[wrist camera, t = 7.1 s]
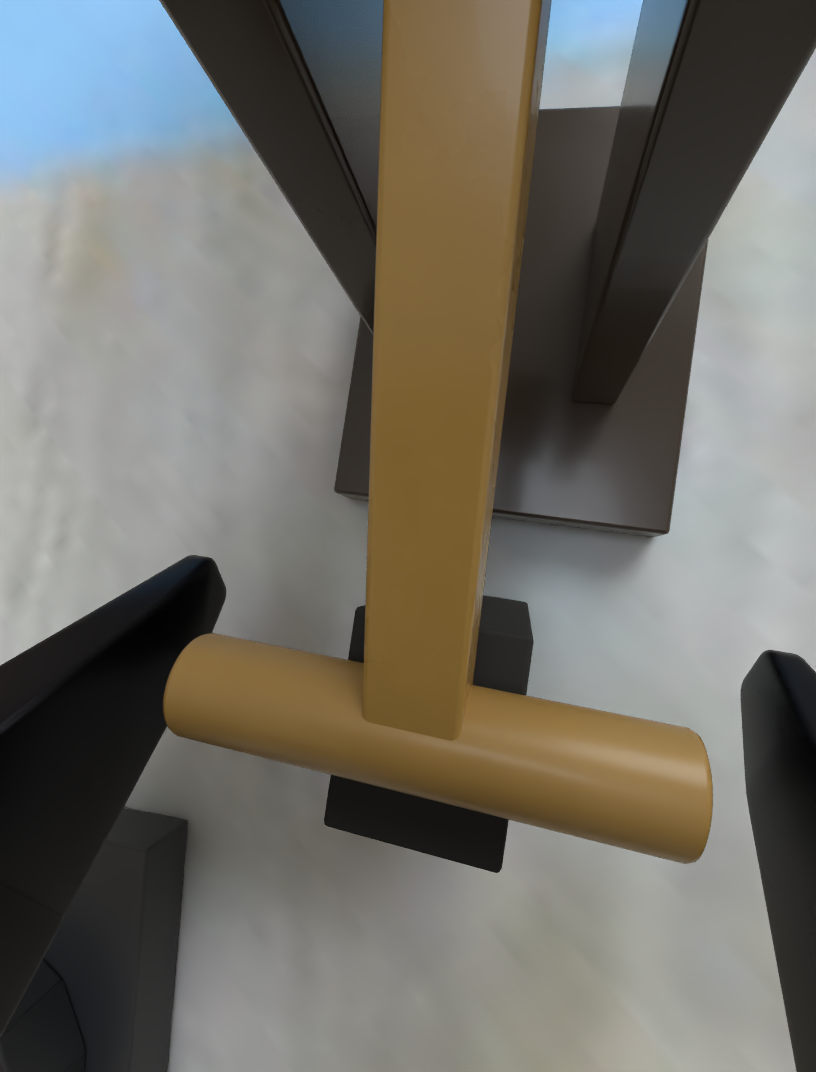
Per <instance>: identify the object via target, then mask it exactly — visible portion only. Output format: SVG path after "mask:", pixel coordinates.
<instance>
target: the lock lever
mask: <svg viewBox="0 0 816 1072" xmlns="http://www.w3.org/2000/svg"><path fill="white" fill-rule="evenodd" d="M551 1H552V0H383V31H382V64H381V98H380V132H379V166H378V200H377V234H376V268H375V302H374V336H373V370H372V404H371V438H370V472H369V506H368V539H367V573H366V607H365V641H364V663H360V662H355V661H350V660H345V659H340V658H335V657H330V656H325V655H320V654H315V653H310V652H305V651H300V650H295V649H290V648H285V647H280V646H275V645H270V644H265V643H260V642H255V641H250V640H245V639H240V638H235V637H230V636H225V635H220V634H215V633H209V634H205V635H201V636H199V637H197V638H195V639H194V640H192V641H191V642H190V643H189V644H188V645H187V646H186V647H185V648H184V650H183V651H182V652H181V654H180V655H179V657H178V658H177V660H176V662H175V663H174V665H173V667H172V670H171V672H170V674H169V677H168V680H167V683H166V687H165V692H164V699H163V714H164V719H165V722H166V724H167V726H168V728H169V729H170V730H171V731H172V732H173V733H174V734H176V735H177V736H180V737H184V738H188V739H192V740H196V741H200V742H204V743H208V744H212V745H216V746H220V747H224V748H227V749H231V750H235V751H239V752H243V753H247V754H251V755H255V756H259V757H263V758H267V759H271V760H275V761H279V762H283V763H287V764H291V765H295V766H299V767H303V768H307V769H311V770H315V771H319V772H323V773H327V774H331V775H334V776H338V777H342V778H346V779H350V780H354V781H358V782H362V783H366V784H370V785H374V786H378V787H382V788H386V789H390V790H394V791H398V792H402V793H406V794H410V795H414V796H418V797H422V798H426V799H430V800H434V801H438V802H441V803H445V804H449V805H453V806H457V807H461V808H465V809H469V810H473V811H477V812H481V813H485V814H489V815H493V816H497V817H501V818H505V819H509V820H513V821H517V822H521V823H525V824H529V825H533V826H537V827H541V828H545V829H548V830H552V831H556V832H560V833H564V834H568V835H572V836H576V837H580V838H584V839H588V840H592V841H596V842H600V843H604V844H608V845H612V846H616V847H620V848H624V849H628V850H632V851H636V852H640V853H644V854H648V855H652V856H655V857H659V858H663V859H667V860H671V861H675V862H679V863H683V864H687V863H693V862H695V861H697V860H698V859H699V858H700V856H701V855H702V853H703V851H704V848H705V846H706V843H707V839H708V835H709V831H710V826H711V819H712V807H713V787H712V776H711V769H710V764H709V759H708V755H707V752H706V749H705V746H704V743H703V741H702V739H701V738H700V736H699V735H698V734H697V733H695V732H694V731H692V730H691V729H689V728H685V727H680V726H675V725H670V724H665V723H660V722H655V721H650V720H645V719H640V718H635V717H630V716H625V715H620V714H615V713H610V712H605V711H600V710H595V709H590V708H585V707H580V706H575V705H570V704H565V703H560V702H555V701H550V700H545V699H540V698H535V697H530V696H525V695H520V694H515V693H510V692H505V691H500V690H495V689H490V688H485V687H480V686H475V685H473V677H474V668H475V659H476V651H477V642H478V633H479V625H480V616H481V607H482V599H483V590H484V581H485V573H486V564H487V555H488V547H489V538H490V529H491V521H492V512H493V503H494V495H495V486H496V477H497V469H498V460H499V451H500V443H501V434H502V425H503V417H504V408H505V399H506V391H507V382H508V373H509V365H510V356H511V347H512V339H513V330H514V322H515V313H516V304H517V296H518V287H519V278H520V270H521V261H522V252H523V244H524V235H525V226H526V218H527V209H528V200H529V192H530V183H531V174H532V166H533V157H534V148H535V140H536V131H537V122H538V114H539V105H540V96H541V88H542V79H543V70H544V62H545V53H546V44H547V36H548V27H549V18H550V10H551Z"/></svg>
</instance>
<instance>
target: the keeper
mask: <svg viewBox="0 0 816 1072" xmlns="http://www.w3.org/2000/svg"><path fill="white" fill-rule="evenodd" d="M365 607H366V605H364V606H360V607H357V609H356V611H355V617H354V624H353V631H352V637H351V644H350V651H349V657H348V660H350V661H355V662H360V663H364V641H365ZM532 648H533V636H532V630H531V623H530V617H529V610H528V605H527V603H526V602H521V601H515V600H509V599H502V598H496V597H490V596H484V595H483V599H482V607H481V616H480V625H479V633H478V642H477V651H476V659H475V668H474V677H473V685H475V686H480V687H485V688H490V689H495V690H500V691H505V692H510V693H515V694H520V695H525V696H526V691H527V684H528V677H529V670H530V663H531V655H532ZM508 820H509V819H505V818H501V817H497V816H493V815H489V814H485V813H481V812H477V811H473V810H469V809H465V808H461V807H457V806H453V805H449V804H445V803H441V802H438V801H434V800H430V799H426V798H422V797H418V796H414V795H410V794H406V793H402V792H398V791H394V790H390V789H386V788H382V787H378V786H374V785H370V784H366V783H362V782H358V781H354V780H350V779H346V778H342V777H338V776H334V775H331V777H330V784H329V790H328V797H327V804H326V810H325V817H324V824H325V825H326V826H328V827H332V828H335V829H339V830H343V831H346V832H350V833H353V834H357V835H361V836H364V837H368V838H372V839H375V840H379V841H382V842H386V843H390V844H393V845H397V846H401V847H404V848H408V849H412V850H415V851H419V852H422V853H426V854H430V855H433V856H437V857H441V858H444V859H448V860H451V861H455V862H459V863H462V864H466V865H470V866H473V867H477V868H480V869H484V870H488V871H491V872H495V873H498V872H500V870H501V868H502V863H503V855H504V848H505V841H506V834H507V827H508Z"/></svg>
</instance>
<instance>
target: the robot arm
mask: <svg viewBox="0 0 816 1072" xmlns="http://www.w3.org/2000/svg"><path fill="white" fill-rule="evenodd" d="M225 598H226V587H225V584H224V582H223V579H222V577H221V574H220V572H219V570H218V567H217V565H216V563H215V561H214V560H213V559H212V558H209V557H203V556H197V555H190V556H188V557H186V558H184V559H182V560H180V561H179V562H177V563H175V564H174V565H172V566H170V567H168V568H167V569H165V570H163V571H162V572H160V573H158V574H156V575H155V576H153V577H151V578H150V579H148V580H146V581H144V582H143V583H141V584H139V585H138V586H136V587H134V588H132V589H131V590H129V591H127V592H126V593H124V594H122V595H120V596H119V597H117V598H115V599H114V600H112V601H110V602H108V603H107V604H105V605H103V606H102V607H100V608H98V609H96V610H95V611H93V612H91V613H90V614H88V615H86V616H84V617H83V618H81V619H79V620H78V621H76V622H74V623H72V624H71V625H69V626H67V627H66V628H64V629H62V630H60V631H59V632H57V633H55V634H54V635H52V636H50V637H48V638H47V639H45V640H43V641H42V642H40V643H38V644H36V645H35V646H33V647H31V648H30V649H28V650H26V651H24V652H23V653H21V654H19V655H18V656H16V657H14V658H12V659H11V660H9V661H7V662H6V663H4V664H2V665H0V1038H1V1036H2V1034H3V1032H4V1031H5V1029H6V1027H7V1025H8V1023H9V1021H10V1019H11V1018H12V1016H13V1014H14V1012H15V1010H16V1008H17V1006H18V1004H19V1003H20V1001H21V999H22V997H23V995H24V993H25V991H26V989H27V988H28V986H29V984H30V982H31V980H32V978H33V976H34V975H35V973H36V971H37V969H38V967H39V965H40V963H41V961H42V960H43V958H44V956H45V954H46V952H47V950H48V948H49V947H50V945H51V943H52V941H53V939H54V937H55V935H56V933H57V932H58V930H59V928H60V926H61V924H62V922H63V920H64V916H65V915H66V914H67V912H68V910H69V908H70V907H71V905H72V903H73V901H74V899H75V897H76V895H77V893H78V892H79V890H80V888H81V886H82V884H83V882H84V880H85V878H86V877H87V875H88V873H89V871H90V869H91V867H92V865H93V864H94V862H95V860H96V858H97V856H98V854H99V852H100V850H101V849H102V847H103V845H104V843H105V841H106V839H107V837H108V835H109V834H110V832H111V830H112V828H113V826H114V824H115V822H116V820H117V819H118V817H119V815H120V813H121V811H122V809H123V807H124V806H125V804H126V802H127V800H128V798H129V796H130V794H131V792H132V791H133V789H134V787H135V785H136V783H137V781H138V779H139V777H140V776H141V774H142V772H143V770H144V768H145V766H146V764H147V762H148V761H149V759H150V757H151V755H152V753H153V751H154V749H155V748H156V746H157V744H158V742H159V740H160V738H161V736H162V734H163V733H164V731H165V729H166V727H167V724H166V722H165V719H164V714H163V699H164V692H165V687H166V683H167V680H168V677H169V674H170V672H171V670H172V667H173V665H174V663H175V662H176V660H177V658H178V657H179V655H180V654H181V652H182V651H183V650H184V648H185V647H186V646H187V645H188V644H189V643H190V642H191V641H192V640H194V639H195V638H197V637H199V636H201V635H205V634H209V633H212V631H213V629H214V626H215V624H216V621H217V619H218V616H219V614H220V611H221V609H222V606H223V604H224V601H225ZM741 713H742V730H743V748H744V765H745V781H746V793H747V800H748V806H749V813H750V818H751V824H752V829H753V835H754V840H755V846H756V851H757V857H758V862H759V868H760V873H761V879H762V884H763V890H764V895H765V901H766V906H767V912H768V917H769V923H770V928H771V934H772V939H773V945H774V950H775V956H776V961H777V967H778V972H779V977H780V983H781V988H782V994H783V999H784V1005H785V1010H786V1016H787V1021H788V1027H789V1032H790V1038H791V1043H792V1049H793V1054H794V1060H795V1065H796V1071H797V1072H816V672H815V671H814V670H813V669H812V668H811V667H810V666H809V665H808V663H807V662H806V661H805V660H804V659H803V658H801V657H800V656H798V655H796V654H792V653H786V652H780V651H774V650H767V651H765V652H763V653H762V654H761V655H760V657H759V658H758V659H757V661H756V662H755V664H754V665H753V667H752V668H751V670H750V671H749V673H748V674H747V676H746V677H745V678H744V680H743V683H742V686H741Z"/></svg>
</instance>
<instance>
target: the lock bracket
mask: <svg viewBox="0 0 816 1072" xmlns="http://www.w3.org/2000/svg"><path fill="white" fill-rule="evenodd" d="M159 1H160V2H161V4H162V5H163V7H164V8H165V10H166V12H167V13H168V15H169V16H170V18H171V19H172V21H173V23H174V24H175V26H176V27H177V29H178V30H179V32H180V34H181V35H182V37H183V38H184V40H185V41H186V43H187V44H188V46H189V48H190V49H191V51H192V52H193V54H194V55H195V57H196V59H197V60H198V62H199V63H200V65H201V66H202V68H203V70H204V71H205V73H206V74H207V76H208V77H209V79H210V81H211V82H212V84H213V85H214V87H215V88H216V90H217V91H218V93H219V95H220V96H221V98H222V99H223V101H224V102H225V104H226V106H227V107H228V109H229V110H230V112H231V113H232V115H233V117H234V118H235V120H236V121H237V123H238V124H239V126H240V128H241V129H242V131H243V132H244V134H245V135H246V137H247V138H248V140H249V142H250V143H251V145H252V146H253V148H254V149H255V151H256V153H257V154H258V156H259V157H260V159H261V160H262V162H263V164H264V165H265V167H266V168H267V170H268V171H269V173H270V175H271V176H272V178H273V179H274V181H275V182H276V184H277V185H278V187H279V189H280V190H281V192H282V193H283V195H284V196H285V198H286V200H287V201H288V203H289V204H290V206H291V207H292V209H293V211H294V212H295V214H296V215H297V217H298V218H299V220H300V222H301V223H302V225H303V226H304V228H305V229H306V231H307V232H308V234H309V236H310V237H311V239H312V240H313V242H314V243H315V245H316V247H317V248H318V250H319V251H320V253H321V254H322V256H323V258H324V259H325V261H326V262H327V264H328V265H329V267H330V268H331V270H332V272H333V273H334V275H335V276H336V278H337V279H338V281H339V283H340V284H341V286H342V287H343V289H344V290H345V292H346V294H347V295H348V297H349V298H350V300H351V301H352V303H353V305H354V306H355V308H356V309H357V311H358V312H359V314H360V315H361V318H360V324H359V331H358V337H357V344H356V350H355V357H354V364H353V370H352V377H351V383H350V390H349V396H348V403H347V409H346V416H345V423H344V429H343V436H342V442H341V449H340V455H339V462H338V468H337V475H336V482H335V488H334V490H335V492H336V493H338V494H341V495H343V496H346V497H348V498H352V499H360V500H367V501H369V472H370V438H371V404H372V370H373V336H374V302H375V268H376V234H377V200H378V166H379V132H380V98H381V64H382V31H383V0H159ZM815 49H816V0H643V3H642V8H641V13H640V17H639V22H638V27H637V32H636V36H635V41H634V46H633V50H632V55H631V60H630V64H629V69H628V74H627V78H626V83H625V88H624V92H623V97H622V102H621V106H614V107H589V108H564V109H539V114H538V122H537V131H536V140H535V148H534V157H533V166H532V174H531V183H530V192H529V200H528V209H527V218H526V226H525V235H524V244H523V252H522V261H521V270H520V278H519V287H518V296H517V304H516V313H515V322H514V330H513V339H512V347H511V356H510V365H509V373H508V382H507V391H506V399H505V408H504V417H503V425H502V434H501V443H500V451H499V460H498V469H497V477H496V486H495V495H494V503H493V512H492V517H500V518H508V519H516V520H523V521H531V522H539V523H547V524H555V525H562V526H570V527H578V528H586V529H594V530H601V531H609V532H617V533H625V534H633V535H640V536H648V537H656V536H660V535H664V534H668V532H669V530H670V522H671V515H672V507H673V500H674V492H675V484H676V477H677V469H678V462H679V454H680V447H681V439H682V432H683V424H684V417H685V409H686V402H687V394H688V387H689V379H690V372H691V364H692V357H693V349H694V342H695V334H696V327H697V319H698V312H699V304H700V297H701V289H702V282H703V274H704V267H705V259H706V252H707V244H708V238H709V236H710V234H711V233H712V231H713V229H714V227H715V226H716V224H717V222H718V220H719V219H720V217H721V215H722V213H723V211H724V210H725V208H726V206H727V204H728V203H729V201H730V199H731V197H732V196H733V194H734V192H735V190H736V188H737V187H738V185H739V183H740V181H741V180H742V178H743V176H744V174H745V173H746V171H747V169H748V167H749V165H750V164H751V162H752V160H753V158H754V157H755V155H756V153H757V151H758V150H759V148H760V146H761V144H762V142H763V141H764V139H765V137H766V135H767V134H768V132H769V130H770V128H771V126H772V125H773V123H774V121H775V119H776V118H777V116H778V114H779V112H780V111H781V109H782V107H783V105H784V103H785V102H786V100H787V98H788V96H789V95H790V93H791V91H792V89H793V88H794V86H795V84H796V82H797V80H798V79H799V77H800V75H801V73H802V72H803V70H804V68H805V66H806V65H807V63H808V61H809V59H810V57H811V56H812V54H813V52H814V50H815Z"/></svg>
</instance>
